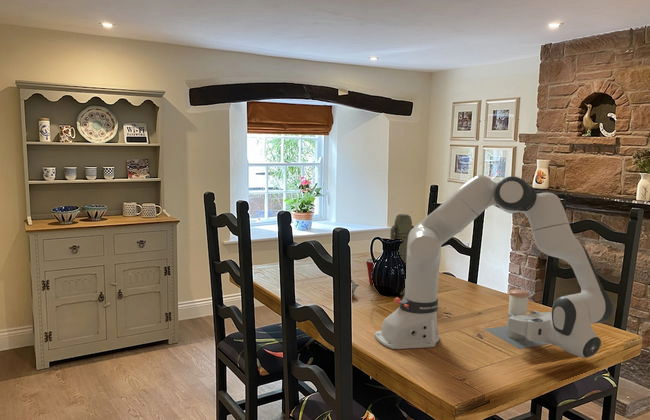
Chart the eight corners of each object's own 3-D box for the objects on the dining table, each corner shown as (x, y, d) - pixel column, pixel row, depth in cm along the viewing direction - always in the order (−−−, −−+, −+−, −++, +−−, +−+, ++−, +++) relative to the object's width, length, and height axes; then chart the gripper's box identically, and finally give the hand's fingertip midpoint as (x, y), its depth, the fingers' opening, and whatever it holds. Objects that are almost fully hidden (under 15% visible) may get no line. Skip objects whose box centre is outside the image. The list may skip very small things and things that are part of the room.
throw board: (518, 351, 170) (519, 348, 170) (483, 331, 186) (483, 328, 186) (584, 340, 180) (584, 337, 180) (545, 322, 197) (545, 320, 197)
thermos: (416, 292, 231) (420, 215, 226) (396, 296, 224) (400, 217, 219) (403, 287, 238) (407, 212, 233) (383, 291, 232) (386, 214, 227)
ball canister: (514, 340, 176) (518, 295, 174) (502, 333, 182) (505, 290, 180) (528, 338, 179) (532, 293, 176) (516, 331, 184) (519, 288, 182)
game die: (350, 304, 223) (359, 291, 217) (332, 297, 223) (340, 283, 216) (354, 289, 230) (362, 276, 224) (336, 282, 230) (344, 268, 223)
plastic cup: (387, 281, 247) (388, 257, 245) (387, 288, 236) (388, 262, 235) (364, 280, 248) (365, 256, 246) (364, 286, 237) (364, 261, 236)
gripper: (576, 315, 168) (544, 302, 181) (527, 322, 161) (497, 308, 173) (574, 334, 169) (543, 319, 182) (525, 341, 161) (496, 325, 174)
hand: (520, 314), depth 177 cm, fingers open, 8 cm apart
